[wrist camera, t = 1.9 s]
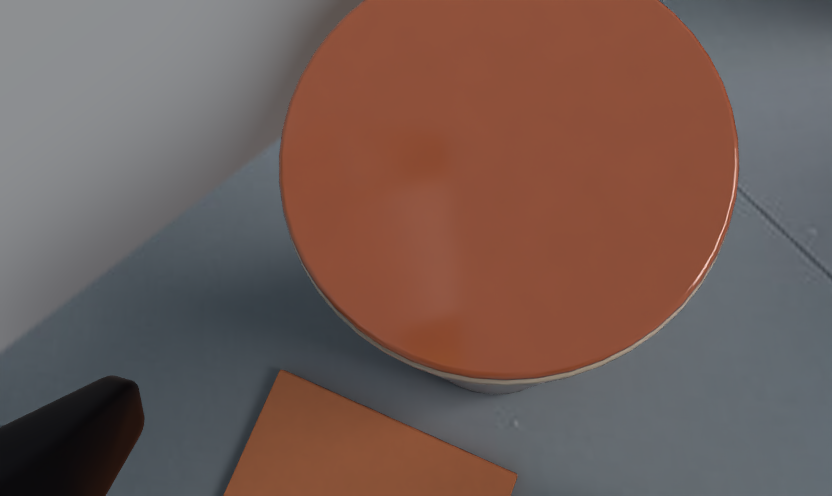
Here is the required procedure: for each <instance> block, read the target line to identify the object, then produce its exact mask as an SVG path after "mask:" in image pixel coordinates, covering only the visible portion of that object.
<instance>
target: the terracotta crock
mask: <svg viewBox="0 0 832 496" xmlns="http://www.w3.org/2000/svg"><path fill="white" fill-rule="evenodd" d="M738 177H739V151H738V137H737V132H736V126H735V121H734V116H733V111H732V107H731V105H730V102H729V99H728V96H727V93H726V90H725V87H724V85H723V82H722V80H721V78H720V76H719V74H718V72H717V70H716V68H715V66H714V64H713V63H712V61H711V59H710V57H709V55H708V54H707V53H706V51H705V50H704V48H703V47H702V45H701V44H700V43H699V41H698V40H697V38H696V37H695V36H694V34H693V33H692V32H691V31H690V30H689V29H688V28H687V27H686V25H685V24H684V23H683V22H682V21H681V20H680V19H679V18H678V17H677V16H676V15H675V14H674V13H673V12H672V11H671V10H670V9H668V8H667V7H666V6H665V5H664V4H662V3H661V2H660V1H659V0H364V1H363V2H361V3H360V4H359V5H358V6H356V7H355V8H354V9H353V10H352V11H351V12H349V13H348V14H347V15H346V16H345V17H344V18H343V19H342V20H341V21H340V22H339V23H338V24H337V25H336V27H335V28H334V29H333V30H332V31H331V32H330V33H329V34H328V35H327V37H326V38H325V39H324V41H323V42H322V43H321V45H320V46H319V47H318V49H317V50H316V52H315V53H314V54H313V56H312V57H311V59H310V61H309V63H308V65H307V66H306V68H305V70H304V72H303V73H302V75H301V77H300V79H299V81H298V84H297V86H296V89H295V91H294V93H293V96H292V98H291V101H290V103H289V107H288V111H287V115H286V118H285V122H284V126H283V130H282V137H281V145H280V153H279V186H280V193H281V200H282V207H283V213H284V218H285V221H286V225H287V228H288V232H289V235H290V239H291V242H292V245H293V247H294V249H295V251H296V254H297V256H298V258H299V260H300V263H301V265H302V267H303V269H304V271H305V272H306V274H307V275H308V277H309V279H310V280H311V282H312V283H313V285H314V287H315V288H316V290H317V292H318V293H319V294H320V295H321V297H322V298H323V299H324V300H325V301H326V303H327V304H328V305H329V306H330V307H331V309H332V310H333V311H334V312H335V313H336V315H337V316H339V317H340V318H341V319H342V320H343V321H344V322H345V323H346V324H347V325H348V326H349V327H351V328H352V329H353V330H354V331H355V332H356V333H357V334H358V335H360V336H361V337H362V338H364V339H365V340H367V341H368V342H370V343H371V344H373V345H374V346H375V347H377V348H378V349H380V350H381V351H383V352H384V353H386V354H388V355H390V356H392V357H394V358H396V359H398V360H400V361H402V362H404V363H406V364H408V365H410V366H412V367H414V368H416V369H419V370H422V371H424V372H427V373H430V374H433V375H436V376H439V377H442V378H444V379H446V380H448V381H450V382H452V383H454V384H456V385H458V386H460V387H462V388H465V389H468V390H470V391H474V392H479V393H484V394H509V393H514V392H519V391H522V390H525V389H528V388H531V387H534V386H537V385H539V384H542V383H546V382H551V381H556V380H561V379H565V378H568V377H571V376H574V375H577V374H580V373H583V372H586V371H589V370H592V369H595V368H598V367H600V366H603V365H605V364H607V363H609V362H611V361H613V360H615V359H617V358H619V357H621V356H622V355H624V354H626V353H628V352H630V351H632V350H633V349H635V348H636V347H638V346H639V345H640V344H642V343H643V342H645V341H646V340H648V339H649V338H651V337H652V336H654V335H655V334H656V333H658V332H659V331H660V330H661V329H662V328H663V327H664V326H665V325H666V324H667V323H668V322H670V321H671V320H672V319H673V318H674V317H675V316H676V315H677V314H678V313H679V312H680V311H681V310H682V309H683V308H684V306H685V305H686V304H687V303H688V301H689V300H690V299H691V298H692V297H693V295H694V294H695V293H696V292H697V290H698V289H699V288H700V287H701V285H702V283H703V282H704V280H705V278H706V277H707V275H708V273H709V272H710V270H711V268H712V267H713V265H714V263H715V262H716V259H717V257H718V255H719V252H720V250H721V247H722V245H723V243H724V240H725V238H726V235H727V233H728V229H729V225H730V221H731V217H732V213H733V210H734V206H735V202H736V197H737V187H738Z"/></svg>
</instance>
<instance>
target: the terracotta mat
mask: <svg viewBox="0 0 832 496" xmlns="http://www.w3.org/2000/svg"><path fill="white" fill-rule="evenodd" d="M516 480H517V474H516V473H514V472H512V471H510V470H507V469H505V468H503V467H501V466H498V465H496V464H494V463H492V462H489V461H487V460H485V459H483V458H480V457H478V456H476V455H474V454H471V453H469V452H467V451H465V450H462V449H460V448H458V447H456V446H453V445H451V444H449V443H447V442H444V441H442V440H440V439H438V438H435V437H433V436H431V435H429V434H427V433H424V432H422V431H420V430H418V429H415V428H413V427H411V426H409V425H406V424H404V423H402V422H400V421H397V420H395V419H393V418H391V417H388V416H386V415H384V414H382V413H379V412H377V411H375V410H373V409H370V408H368V407H366V406H364V405H361V404H359V403H357V402H355V401H352V400H350V399H348V398H346V397H343V396H341V395H339V394H337V393H334V392H332V391H330V390H328V389H326V388H323V387H321V386H319V385H317V384H314V383H312V382H310V381H308V380H305V379H303V378H301V377H299V376H296V375H294V374H292V373H290V372H287V371H285V370H280V371H279V373H278V375H277V377H276V380H275V382H274V384H273V386H272V389H271V391H270V393H269V395H268V397H267V400H266V402H265V404H264V406H263V409H262V411H261V413H260V415H259V417H258V420H257V422H256V424H255V426H254V428H253V431H252V433H251V435H250V437H249V440H248V442H247V444H246V446H245V448H244V451H243V453H242V455H241V457H240V460H239V462H238V464H237V466H236V468H235V471H234V473H233V475H232V477H231V479H230V482H229V484H228V486H227V488H226V491H225V493H224V495H223V496H511V493H512V490H513V488H514V485H515V482H516Z"/></svg>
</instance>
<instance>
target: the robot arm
mask: <svg viewBox="0 0 832 496" xmlns="http://www.w3.org/2000/svg"><path fill="white" fill-rule="evenodd" d="M143 426H144V413H143V408H142V402H141V397H140V392H139V388H138V385H137V384H136V383H135V382H134V381H132V380H128V379H125V378H121V377H118V376H106V377H104V378H101V379H99V380H97V381H95V382H93V383H91V384H89V385H87V386H85V387H83V388H81V389H78V390H76V391H74V392H72V393H70V394H68V395H66V396H64V397H62V398H60V399H58V400H56V401H54V402H52V403H50V404H47V405H45V406H43V407H41V408H39V409H37V410H35V411H33V412H31V413H29V414H27V415H25V416H23V417H21V418H18V419H16V420H14V421H12V422H10V423H8V424H6V425H4V426H2V427H0V496H106V494H107V492H108V490H109V489H110V487H111V485H112V484H113V482H114V480H115V478H116V477H117V475H118V473H119V471H120V470H121V468H122V466H123V464H124V463H125V461H126V459H127V457H128V456H129V454H130V452H131V450H132V449H133V447H134V445H135V443H136V442H137V440H138V438H139V436H140V435H141V432H142V430H143Z"/></svg>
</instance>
